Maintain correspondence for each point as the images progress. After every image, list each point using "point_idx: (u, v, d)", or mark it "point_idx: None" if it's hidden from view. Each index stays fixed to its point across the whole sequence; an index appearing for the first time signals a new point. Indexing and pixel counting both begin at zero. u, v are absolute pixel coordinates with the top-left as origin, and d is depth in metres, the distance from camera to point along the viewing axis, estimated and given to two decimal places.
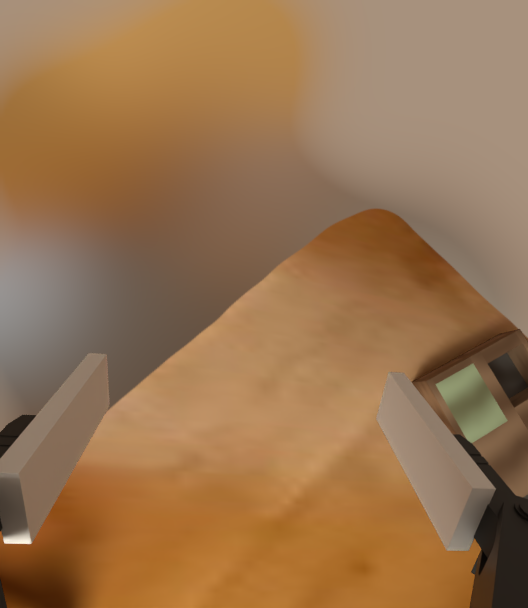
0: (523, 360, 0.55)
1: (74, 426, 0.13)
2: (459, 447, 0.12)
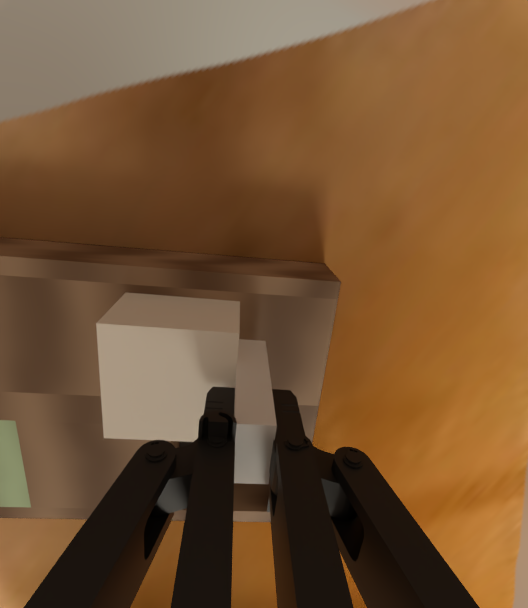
0: None
1: None
2: (269, 396, 0.14)
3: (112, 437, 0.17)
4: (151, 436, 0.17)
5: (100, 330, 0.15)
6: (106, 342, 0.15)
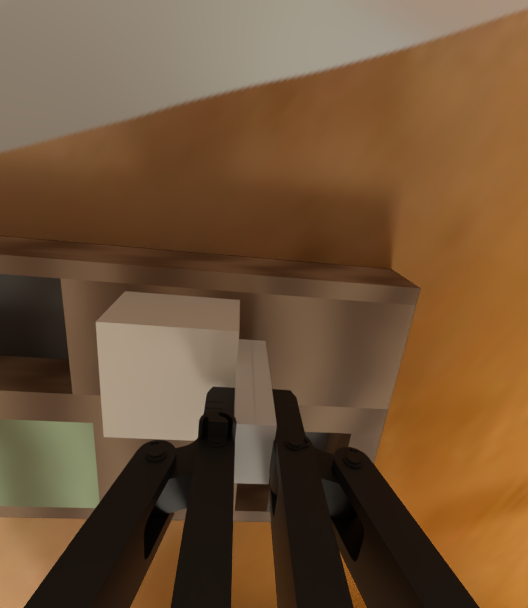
0: None
1: None
2: (269, 396, 0.14)
3: (112, 436, 0.17)
4: (151, 434, 0.17)
5: (99, 329, 0.15)
6: (105, 340, 0.15)
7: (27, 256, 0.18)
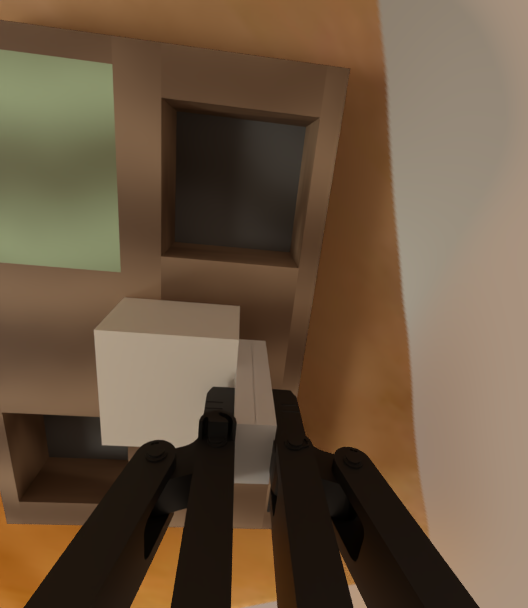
0: (305, 178, 0.18)
1: None
2: (269, 396, 0.14)
3: (96, 339, 0.15)
4: (102, 376, 0.15)
5: (231, 342, 0.15)
6: (218, 345, 0.15)
7: None
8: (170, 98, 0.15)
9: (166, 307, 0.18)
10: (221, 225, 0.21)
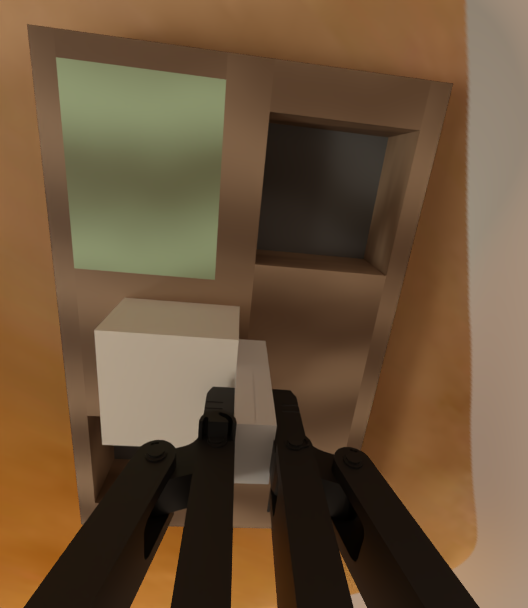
0: (392, 188, 0.19)
1: None
2: (269, 396, 0.14)
3: (96, 339, 0.15)
4: (103, 376, 0.15)
5: (230, 342, 0.15)
6: (218, 346, 0.15)
7: (410, 250, 0.18)
8: (278, 112, 0.16)
9: (166, 307, 0.18)
10: (299, 232, 0.21)
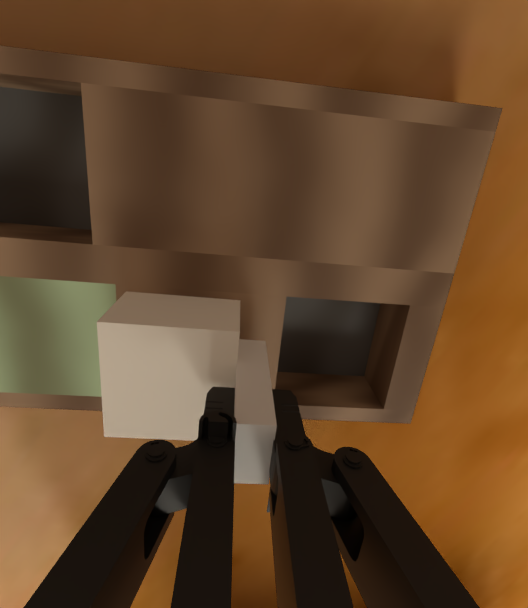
0: None
1: None
2: (269, 396, 0.14)
3: (112, 436, 0.17)
4: (151, 434, 0.17)
5: (101, 328, 0.15)
6: (106, 340, 0.15)
7: (42, 51, 0.15)
8: None
9: None
10: None
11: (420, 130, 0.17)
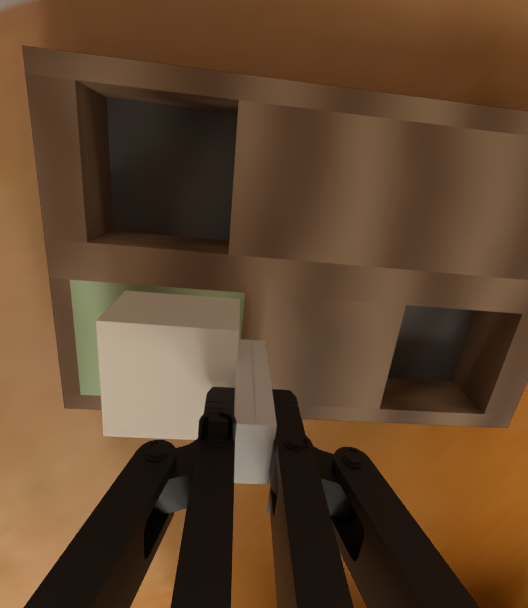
0: (147, 95, 0.17)
1: None
2: (269, 396, 0.14)
3: (112, 435, 0.17)
4: (151, 433, 0.17)
5: (100, 328, 0.15)
6: (105, 339, 0.15)
7: (206, 69, 0.15)
8: (86, 234, 0.17)
9: None
10: (212, 192, 0.21)
11: None
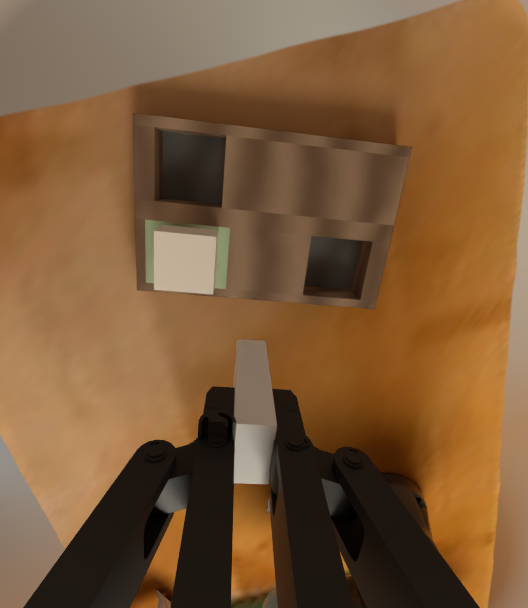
0: (184, 131, 0.36)
1: None
2: (269, 396, 0.14)
3: (157, 289, 0.36)
4: (176, 289, 0.36)
5: (155, 234, 0.34)
6: (157, 240, 0.34)
7: None
8: (154, 197, 0.37)
9: None
10: (214, 178, 0.40)
11: (375, 156, 0.36)
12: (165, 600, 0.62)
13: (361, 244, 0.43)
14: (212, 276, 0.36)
